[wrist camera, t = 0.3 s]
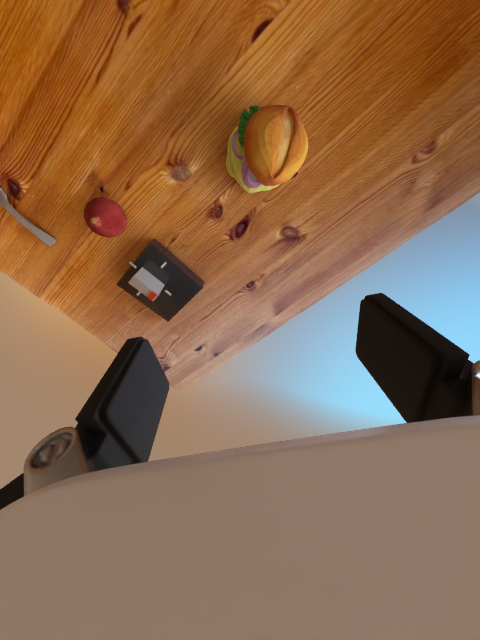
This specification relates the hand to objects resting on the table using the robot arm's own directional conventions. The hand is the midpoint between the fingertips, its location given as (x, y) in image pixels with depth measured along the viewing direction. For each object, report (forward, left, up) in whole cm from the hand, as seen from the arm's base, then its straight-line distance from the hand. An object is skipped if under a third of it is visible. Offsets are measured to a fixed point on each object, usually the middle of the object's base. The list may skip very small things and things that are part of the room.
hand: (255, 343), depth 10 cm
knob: (-4, -18, -33) cm, 38 cm away
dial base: (-2, -18, -36) cm, 40 cm away
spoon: (-26, -25, -36) cm, 51 cm away
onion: (-15, -14, -36) cm, 42 cm away
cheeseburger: (-4, +10, -36) cm, 38 cm away
